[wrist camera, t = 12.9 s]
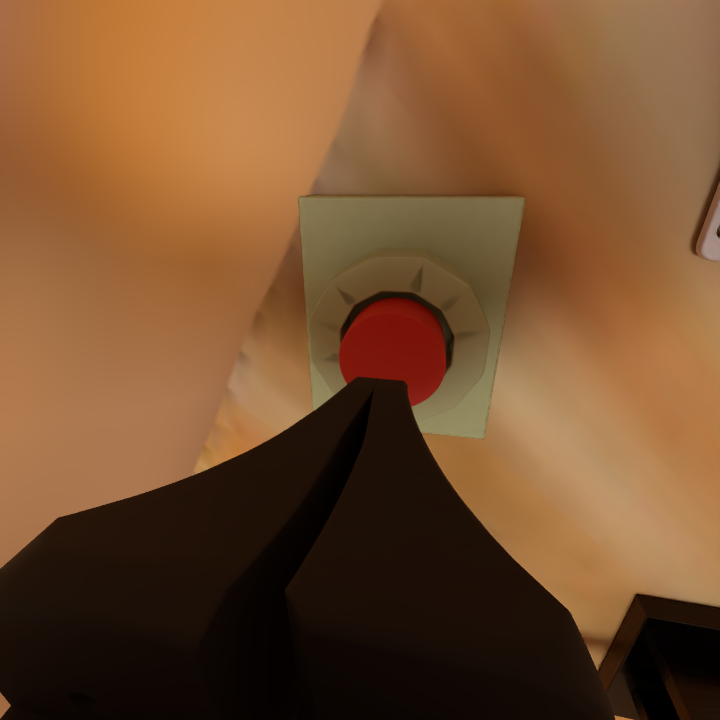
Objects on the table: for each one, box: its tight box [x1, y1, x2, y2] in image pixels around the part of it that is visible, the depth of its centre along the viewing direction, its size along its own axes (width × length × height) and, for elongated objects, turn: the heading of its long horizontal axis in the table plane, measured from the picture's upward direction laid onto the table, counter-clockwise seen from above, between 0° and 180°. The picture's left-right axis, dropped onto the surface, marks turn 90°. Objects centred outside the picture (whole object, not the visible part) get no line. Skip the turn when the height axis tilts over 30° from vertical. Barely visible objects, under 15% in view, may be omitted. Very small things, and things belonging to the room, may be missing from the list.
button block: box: [298, 195, 525, 439], centre depth 15 cm, size 10×8×3 cm
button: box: [339, 297, 446, 407], centre depth 13 cm, size 4×4×2 cm
